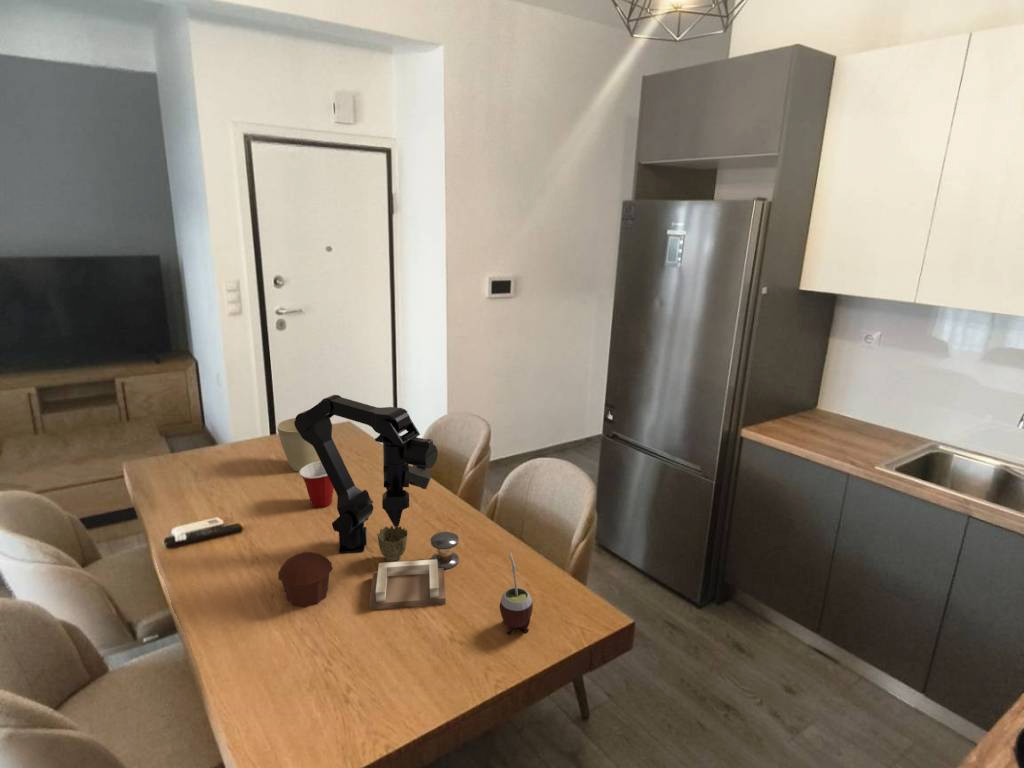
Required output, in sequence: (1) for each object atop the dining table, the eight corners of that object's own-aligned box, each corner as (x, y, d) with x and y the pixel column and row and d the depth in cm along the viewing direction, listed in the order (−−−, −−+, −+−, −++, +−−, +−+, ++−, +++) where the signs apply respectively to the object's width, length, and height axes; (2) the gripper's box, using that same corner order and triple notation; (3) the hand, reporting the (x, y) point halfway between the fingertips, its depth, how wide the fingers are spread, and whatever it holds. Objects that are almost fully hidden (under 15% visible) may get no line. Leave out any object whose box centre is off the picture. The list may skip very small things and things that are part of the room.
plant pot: (318, 477, 195) (314, 432, 191) (273, 475, 195) (269, 431, 191) (332, 459, 209) (329, 417, 205) (290, 458, 209) (287, 416, 205)
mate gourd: (521, 642, 122) (523, 580, 118) (489, 628, 126) (490, 567, 122) (538, 622, 128) (541, 562, 124) (508, 609, 132) (509, 551, 128)
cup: (401, 570, 145) (400, 542, 143) (373, 566, 147) (372, 538, 144) (412, 554, 152) (411, 527, 150) (385, 550, 154) (384, 523, 151)
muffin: (336, 578, 141) (334, 542, 139) (331, 608, 131) (328, 569, 128) (285, 582, 139) (281, 545, 137) (275, 613, 129) (271, 573, 126)
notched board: (369, 609, 131) (368, 594, 130) (373, 577, 142) (372, 563, 141) (445, 603, 133) (445, 588, 132) (443, 573, 145) (443, 558, 143)
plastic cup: (297, 501, 178) (294, 465, 175) (331, 492, 184) (329, 457, 181) (309, 516, 170) (306, 478, 167) (345, 506, 176) (342, 469, 173)
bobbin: (431, 570, 146) (430, 547, 144) (430, 554, 152) (430, 532, 150) (459, 568, 147) (459, 545, 145) (457, 553, 153) (457, 531, 151)
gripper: (430, 474, 135) (430, 534, 140) (426, 444, 153) (427, 497, 157) (381, 477, 133) (383, 537, 138) (383, 445, 151) (384, 500, 155)
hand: (396, 516), depth 147 cm, fingers open, 9 cm apart
